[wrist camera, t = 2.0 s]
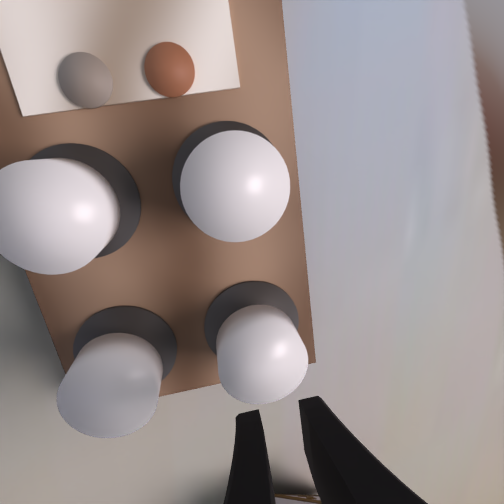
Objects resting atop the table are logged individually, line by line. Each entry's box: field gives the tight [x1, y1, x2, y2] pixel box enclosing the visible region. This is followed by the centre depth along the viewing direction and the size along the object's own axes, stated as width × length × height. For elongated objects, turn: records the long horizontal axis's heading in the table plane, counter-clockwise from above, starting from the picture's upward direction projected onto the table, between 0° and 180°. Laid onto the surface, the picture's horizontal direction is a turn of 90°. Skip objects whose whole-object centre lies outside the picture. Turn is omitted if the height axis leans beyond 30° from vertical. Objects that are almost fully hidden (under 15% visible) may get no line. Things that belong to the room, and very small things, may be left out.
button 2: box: [57, 333, 163, 438], centre depth 13 cm, size 4×4×2 cm
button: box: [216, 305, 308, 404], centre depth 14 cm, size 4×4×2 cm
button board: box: [0, 0, 316, 397], centre depth 15 cm, size 12×19×2 cm, turn 8°
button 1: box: [0, 158, 120, 275], centre depth 11 cm, size 4×4×2 cm
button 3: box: [180, 130, 290, 242], centre depth 12 cm, size 4×4×2 cm
